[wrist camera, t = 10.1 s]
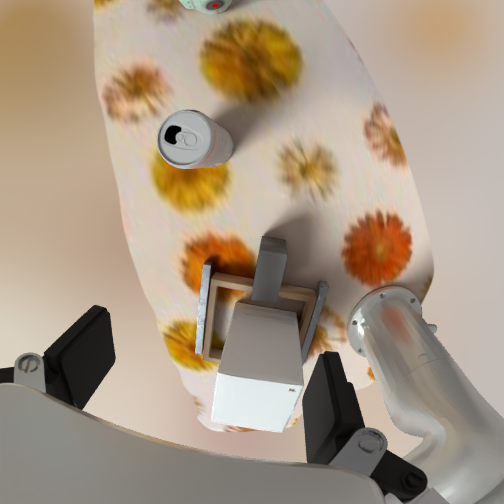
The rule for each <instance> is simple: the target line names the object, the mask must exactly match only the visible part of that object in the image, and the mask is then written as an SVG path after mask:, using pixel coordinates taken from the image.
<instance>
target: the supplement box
mask: <svg viewBox="0 0 504 504" xmlns="http://www.w3.org/2000/svg"><path fill="white" fill-rule="evenodd" d="M303 387H304V379H303V368H302V359H301V349H300V340H299V331H298V323H297V314H296V312H291V311H285V310H279V309H273V308H267V307H261V306H256V305H250V304H245V303H239V302H236V304H235V308H234V312H233V315H232V319H231V322H230V326H229V330H228V334H227V337H226V341H225V345H224V349H223V352H222V356H221V360H220V364H219V368H218V371H217V378H216V384H215V392H214V399H213V408H212V416H211V421H212V422H216V423H221V424H226V425H232V426H239V427H245V428H251V429H258V430H265V431H274V432H284V430H285V428H286V426H287V424H288V421H289V419H290V417H291V415H292V414H293V412H294V409H295V406H296V404H297V401H298V399H299V397H300V394H301V392H302V389H303Z"/></svg>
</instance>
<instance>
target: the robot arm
mask: <svg viewBox="0 0 504 504" xmlns="http://www.w3.org/2000/svg"><path fill="white" fill-rule="evenodd" d="M436 330H437V326H436V325H434V324H427V323H426V322H425V320H424V319H423V318H422V308H421V304H420V302H419V300H418V298H417V297H416V296H415V295H414V294H413V293H412V292H411V291H410V290H408V289H406V288H404V287H399V286H388V287H384V288H380V289H378V290H376V291H374V292H372V293H370V294H369V295H367V296H366V297H365V298H364V299H362V300H361V301H360V302H359V304H358V305H357V306H356V307H355V309H354V310H353V312H352V313H351V316H350V318H349V320H348V325H347V336H348V340H349V343H350V345H351V347H352V348H353V350H354V351H355V352H356V353H357V354H359V355H361V356H363V357H367V359H368V362H369V364H370V367H371V369H372V372H373V374H374V377H375V379H376V381H377V384H378V387H379V389H380V392H381V394H382V397H383V399H384V402H385V405H386V407H387V410H388V412H389V415H390V417H391V420H392V422H393V423H394V425H395V426H396V427H397V428H398V429H400V430H401V431H403V432H404V433H407V434H410V435H413V436H418V437H423V438H424V439H423V441H422V443H421V444H420V445H419V446H418V447H416V448H415V449H414V450H412V451H411V452H410V453H409V454H407V455H406V456H404V457H403V458H400V457H398V456H397V455H395V454H393V453H392V452H390V451H388V450H387V446H388V443H387V439H386V437H385V436H384V435H383V433H382V432H380V431H379V430H377V429H374V428H365V425H364V421H363V417H362V414H361V411H360V407H359V404H358V400H357V397H356V393H355V390H354V387H353V384H352V383H351V382H347V379H346V376H345V372H344V369H343V366H342V362H341V359H340V356H339V353H338V352H330V351H325V352H324V354H320V355H319V357H318V360H317V362H316V365H315V368H314V370H313V373H312V375H311V378H310V381H309V383H308V386H307V388H306V390H305V393H304V395H303V400H302V406H303V417H304V427H305V428H304V429H305V442H306V455H307V463H299V462H285V461H274V460H264V459H256V458H247V457H240V456H234V455H227V454H222V453H216V452H211V451H206V450H201V449H197V448H192V447H188V446H184V445H180V444H175V443H172V442H168V441H164V440H161V439H158V438H154V437H151V436H148V435H144V434H141V433H139V432H136V431H133V430H130V429H127V428H124V427H121V426H119V425H116V424H113V423H111V422H108V421H106V420H103V419H101V418H98V417H96V416H94V415H91V414H89V413H87V412H84V411H82V410H83V408H84V407H85V405H86V404H87V402H88V401H89V399H90V398H91V396H92V395H93V393H94V392H95V390H96V389H97V388H98V386H99V385H100V383H101V382H102V380H103V379H104V377H105V376H106V374H107V373H108V372H109V370H110V369H111V367H112V366H113V365H114V363H115V358H116V357H115V350H114V344H113V336H112V328H111V319H110V313H109V312H107V309H106V308H104V307H101V306H98V305H94V306H92V307H91V308H90V309H89V310H88V311H87V312H86V313H85V314H84V315H83V316H81V317H80V318H79V319H78V320H77V321H76V322H75V323H74V324H73V325H72V326H71V327H70V328H69V329H68V330H67V331H66V332H65V333H63V334H62V335H61V336H60V337H59V338H58V339H57V340H56V341H55V342H54V343H53V344H52V345H51V346H50V347H49V348H48V349H47V350H46V351H45V352H44V356H43V357H41V356H40V355H38V354H36V353H25V354H23V355H21V356H19V357H18V358H17V360H16V361H15V366H14V367H9V368H2V369H0V504H504V419H503V417H502V416H501V415H499V413H498V412H497V411H496V410H494V408H493V407H492V406H491V405H490V404H489V403H488V402H487V401H486V400H485V399H484V398H483V397H482V395H480V393H479V392H478V391H477V390H476V389H475V387H474V386H473V385H472V383H471V382H470V381H469V379H468V378H467V377H466V376H465V374H464V373H463V372H462V370H461V369H460V368H459V366H458V365H457V363H456V362H455V361H454V360H453V358H452V357H451V356H450V354H449V353H448V352H447V350H446V349H445V348H444V346H443V345H442V344H441V343H440V341H439V340H438V339H437V338H436V336H435V335H434V334H433V333H435V332H436Z"/></svg>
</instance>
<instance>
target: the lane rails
mask: <svg viewBox="0 0 504 504" xmlns="http://www.w3.org/2000/svg"><path fill="white" fill-rule="evenodd" d="M212 266H213V262H211V261H205V263H204V264H203V272H202V281H201V291H200V301H199V312H198V323H197V335H196V348H195V354H199V355H202V352H203V348H204V338H205V328H206V318H207V309H208V300H209V291H210V283H211V274H212ZM327 290H328V284H327V282H322V281H320V282H319V285H318V289H317V292H316V297H317V299H316V302H315V305H314V309H313V312H312V316H311V319H310V322H309V325H308V329H307V332H306V335H305V338H304V341H303V344H302V347H301V359H302V367H303V364H304V361H305V358H306V355H307V353H308V350H309V347H310V344H311V341H312V338H313V335H314V332H315V329H316V326H317V323H318V320H319V316H320V313H321V310H322V307H323V304H324V300H325V297H326V294H327Z"/></svg>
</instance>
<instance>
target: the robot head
mask: <svg viewBox="0 0 504 504" xmlns="http://www.w3.org/2000/svg"><path fill="white" fill-rule="evenodd" d="M179 1H180V2H181V3H182V4H183V5H184V6H185V7H186V9H197V10H199V11H201V12H204V13H206V14H211V15H213V14H219V13H221V12H223V11H225V10H226V9H227V8H228V7H229V5H230V3H231V2H232V0H179Z"/></svg>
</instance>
